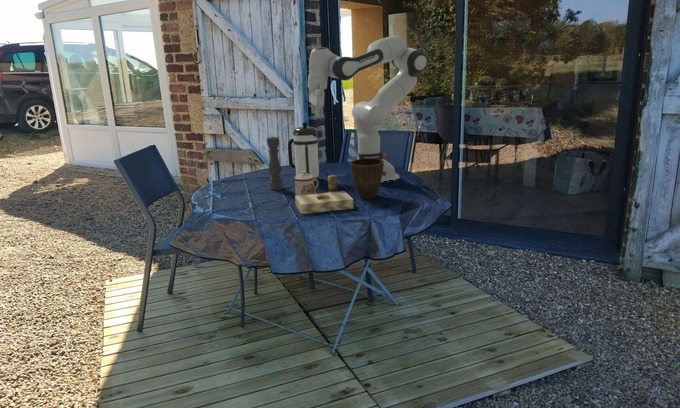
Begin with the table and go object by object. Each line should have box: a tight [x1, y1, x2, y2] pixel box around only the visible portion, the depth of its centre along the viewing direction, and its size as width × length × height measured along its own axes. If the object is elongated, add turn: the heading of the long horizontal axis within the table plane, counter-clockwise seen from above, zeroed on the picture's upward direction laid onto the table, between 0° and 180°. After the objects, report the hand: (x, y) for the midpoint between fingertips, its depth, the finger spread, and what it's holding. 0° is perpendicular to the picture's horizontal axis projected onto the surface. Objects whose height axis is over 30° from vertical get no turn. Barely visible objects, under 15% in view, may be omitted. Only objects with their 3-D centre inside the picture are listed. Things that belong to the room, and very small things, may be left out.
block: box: [294, 190, 354, 215], centre depth 206 cm, size 22×14×4 cm, turn 105°
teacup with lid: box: [293, 171, 320, 196], centre depth 223 cm, size 12×9×12 cm
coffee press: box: [287, 121, 323, 182], centre depth 251 cm, size 17×16×30 cm
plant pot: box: [349, 159, 384, 200], centre depth 217 cm, size 15×15×16 cm
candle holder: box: [266, 136, 284, 191], centre depth 236 cm, size 6×6×25 cm
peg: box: [327, 174, 338, 193], centre depth 218 cm, size 4×4×10 cm
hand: (315, 114), depth 227 cm, fingers open, 8 cm apart
